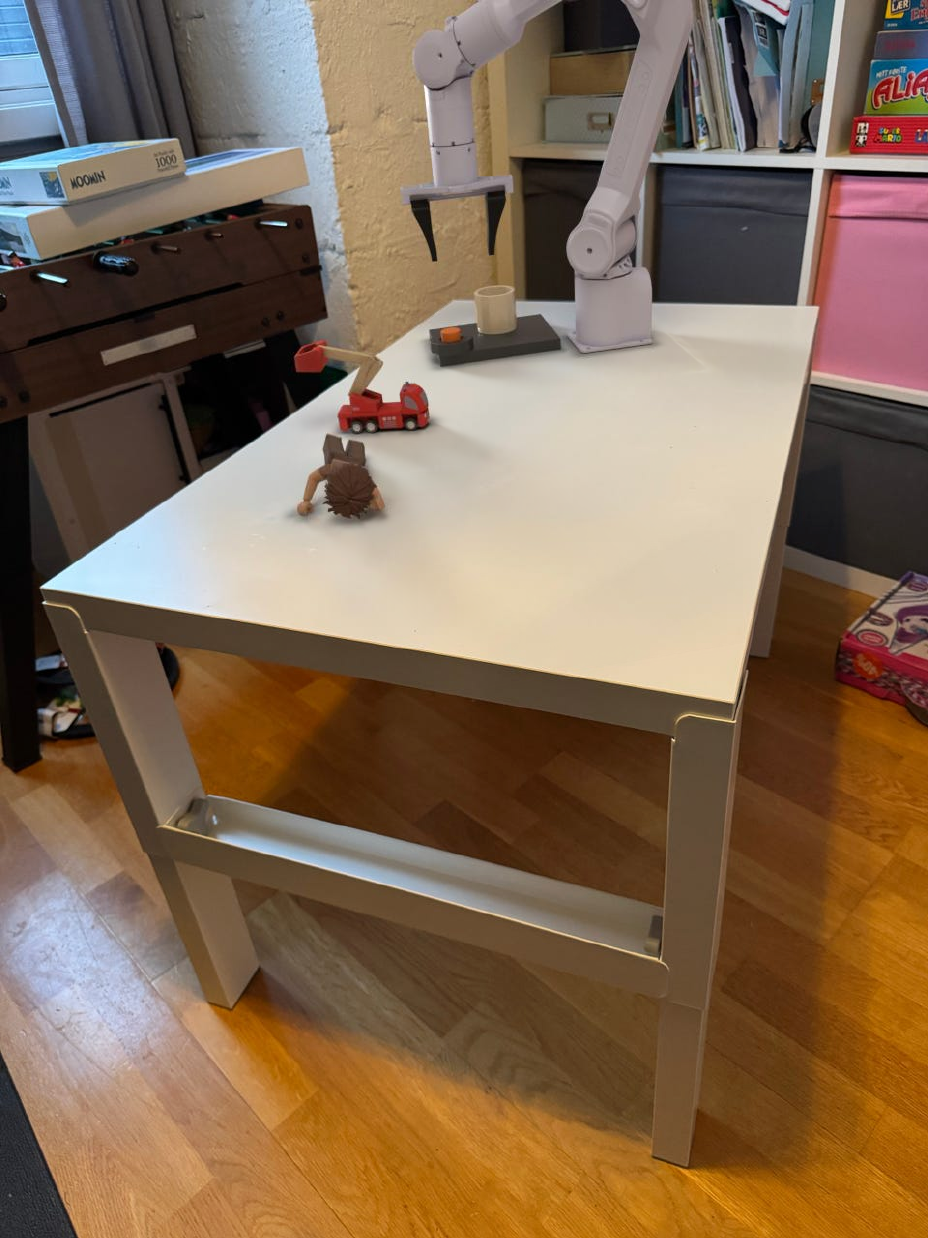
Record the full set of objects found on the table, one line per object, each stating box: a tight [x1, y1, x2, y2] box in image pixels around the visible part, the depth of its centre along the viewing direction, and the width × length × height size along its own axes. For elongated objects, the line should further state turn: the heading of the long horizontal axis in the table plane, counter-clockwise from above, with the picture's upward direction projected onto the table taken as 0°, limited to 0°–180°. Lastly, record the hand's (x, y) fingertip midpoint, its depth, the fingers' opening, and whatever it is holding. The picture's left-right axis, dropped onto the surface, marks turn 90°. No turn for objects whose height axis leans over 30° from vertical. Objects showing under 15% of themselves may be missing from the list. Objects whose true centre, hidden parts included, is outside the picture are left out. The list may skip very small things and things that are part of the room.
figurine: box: [296, 432, 386, 520], centre depth 85 cm, size 8×5×15 cm
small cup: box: [473, 284, 518, 335], centre depth 119 cm, size 5×6×5 cm
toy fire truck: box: [293, 339, 431, 434], centre depth 97 cm, size 3×14×10 cm, turn 84°
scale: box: [428, 313, 562, 368], centre depth 118 cm, size 17×13×3 cm
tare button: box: [441, 326, 461, 342], centre depth 114 cm, size 3×3×1 cm
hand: (462, 256), depth 119 cm, fingers open, 7 cm apart
